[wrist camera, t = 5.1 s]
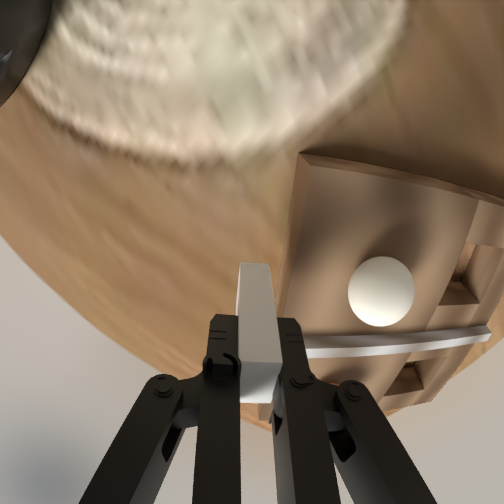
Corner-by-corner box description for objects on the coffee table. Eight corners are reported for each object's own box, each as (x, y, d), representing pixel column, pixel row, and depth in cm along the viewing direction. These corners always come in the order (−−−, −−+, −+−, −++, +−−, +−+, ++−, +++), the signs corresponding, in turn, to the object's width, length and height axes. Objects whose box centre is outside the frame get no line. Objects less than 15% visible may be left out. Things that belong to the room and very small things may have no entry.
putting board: (257, 392, 29) (259, 430, 25) (298, 152, 17) (315, 171, 13) (421, 380, 30) (434, 408, 26) (511, 201, 19) (544, 223, 15)
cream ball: (333, 297, 18) (350, 342, 15) (349, 241, 16) (374, 281, 13) (386, 298, 19) (409, 339, 15) (405, 246, 17) (437, 283, 13)
